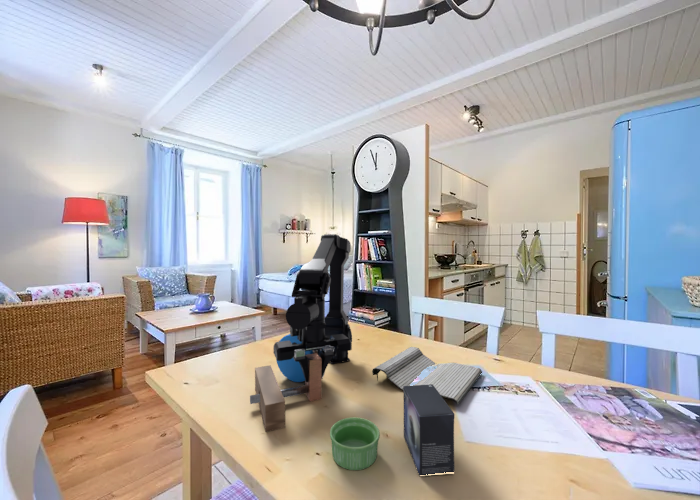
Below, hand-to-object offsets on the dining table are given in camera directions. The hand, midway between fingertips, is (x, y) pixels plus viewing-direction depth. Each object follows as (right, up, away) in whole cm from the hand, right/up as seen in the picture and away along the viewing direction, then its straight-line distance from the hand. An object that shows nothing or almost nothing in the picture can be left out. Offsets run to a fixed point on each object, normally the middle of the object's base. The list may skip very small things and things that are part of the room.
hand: (313, 380), depth 75 cm
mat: (+32, -5, +10) cm, 34 cm away
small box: (+23, -5, -21) cm, 31 cm away
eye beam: (-10, -4, -4) cm, 12 cm away
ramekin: (+10, -5, -21) cm, 23 cm away
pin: (-6, -4, -3) cm, 8 cm away
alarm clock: (-11, +3, +13) cm, 18 cm away
